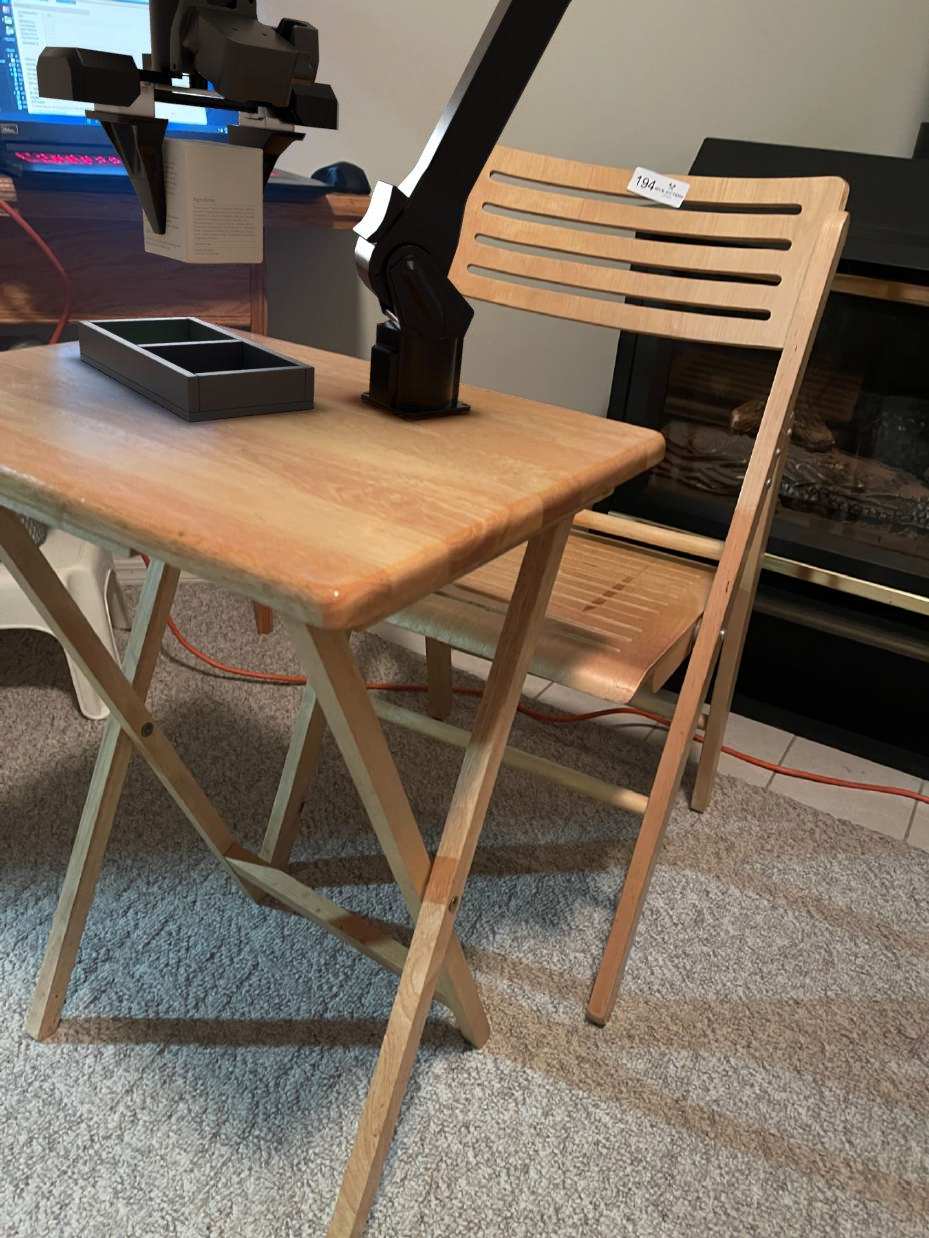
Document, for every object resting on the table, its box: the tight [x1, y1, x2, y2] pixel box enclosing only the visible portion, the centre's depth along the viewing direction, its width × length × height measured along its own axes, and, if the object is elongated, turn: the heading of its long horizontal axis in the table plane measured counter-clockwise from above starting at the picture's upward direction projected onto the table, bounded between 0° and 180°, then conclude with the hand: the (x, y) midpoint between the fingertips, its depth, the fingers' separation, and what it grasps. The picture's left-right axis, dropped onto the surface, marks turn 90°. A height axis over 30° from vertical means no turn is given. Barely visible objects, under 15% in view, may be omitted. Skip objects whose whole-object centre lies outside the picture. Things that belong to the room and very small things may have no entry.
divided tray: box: [76, 316, 316, 423], centre depth 73 cm, size 10×19×3 cm, turn 41°
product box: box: [142, 137, 264, 265], centre depth 64 cm, size 6×6×7 cm
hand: (202, 235), depth 65 cm, fingers closed on product box, 6 cm apart
